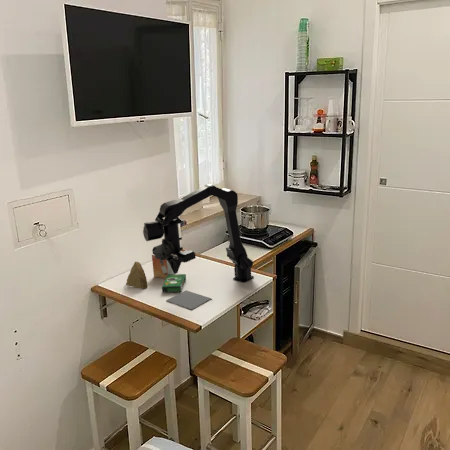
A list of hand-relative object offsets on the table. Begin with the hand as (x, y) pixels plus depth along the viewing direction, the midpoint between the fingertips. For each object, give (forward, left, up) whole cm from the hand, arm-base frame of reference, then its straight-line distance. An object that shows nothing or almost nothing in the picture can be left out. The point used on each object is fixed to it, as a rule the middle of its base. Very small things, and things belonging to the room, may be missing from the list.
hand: (175, 273), depth 188 cm
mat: (-6, 0, -10) cm, 12 cm away
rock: (+23, +2, -10) cm, 25 cm away
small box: (+21, -12, -10) cm, 26 cm away
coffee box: (+5, -1, -9) cm, 10 cm away
